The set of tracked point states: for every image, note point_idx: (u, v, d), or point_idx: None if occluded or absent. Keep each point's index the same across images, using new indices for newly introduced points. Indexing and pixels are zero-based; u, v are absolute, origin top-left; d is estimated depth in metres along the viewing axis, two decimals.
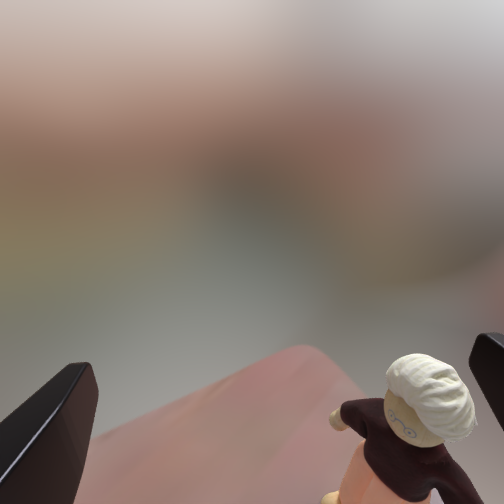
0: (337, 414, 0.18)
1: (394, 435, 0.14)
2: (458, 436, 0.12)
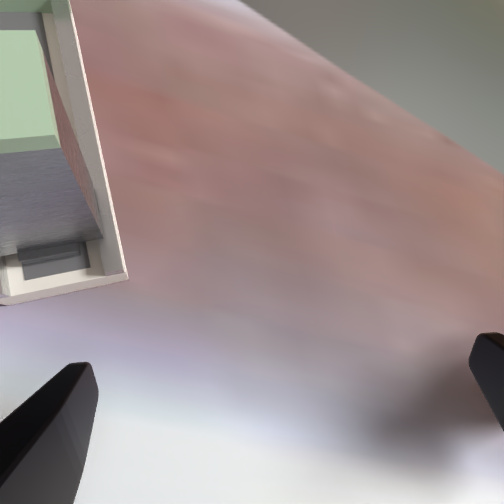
0: None
1: None
2: None
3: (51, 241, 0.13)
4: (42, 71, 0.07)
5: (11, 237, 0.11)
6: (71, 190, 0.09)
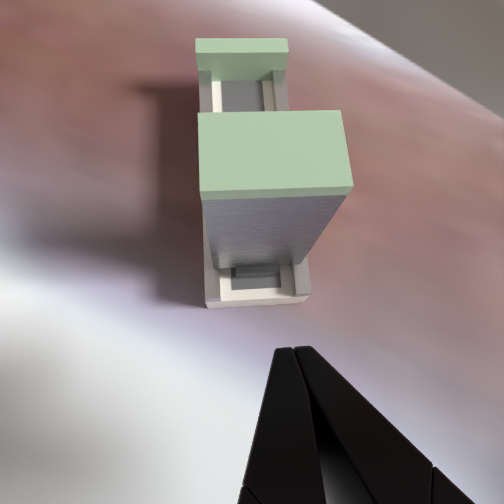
0: None
1: None
2: None
3: (265, 261, 0.16)
4: (344, 139, 0.10)
5: (246, 254, 0.14)
6: (321, 225, 0.12)
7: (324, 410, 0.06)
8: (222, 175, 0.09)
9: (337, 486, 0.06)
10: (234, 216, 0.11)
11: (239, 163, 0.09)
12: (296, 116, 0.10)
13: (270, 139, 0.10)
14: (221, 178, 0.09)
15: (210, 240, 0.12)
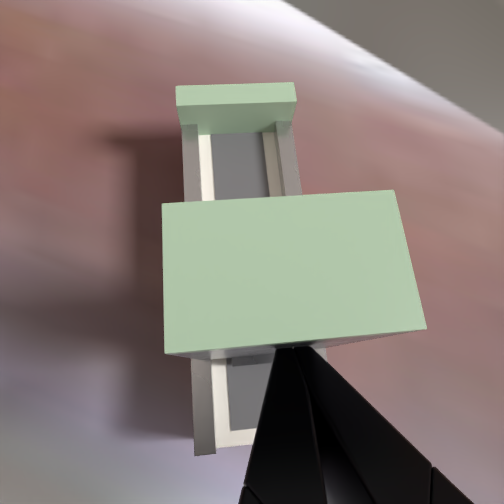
0: None
1: None
2: None
3: (270, 353, 0.12)
4: (404, 241, 0.06)
5: None
6: (355, 341, 0.08)
7: (323, 410, 0.06)
8: (204, 320, 0.05)
9: (336, 486, 0.06)
10: (226, 351, 0.07)
11: (232, 295, 0.05)
12: (324, 202, 0.06)
13: (282, 247, 0.06)
14: (202, 326, 0.05)
15: (194, 357, 0.09)
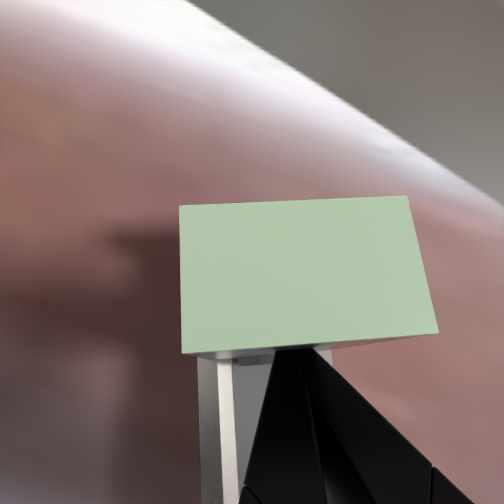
0: None
1: None
2: None
3: None
4: (417, 247, 0.06)
5: (253, 355, 0.11)
6: (364, 343, 0.08)
7: (323, 410, 0.06)
8: (220, 321, 0.05)
9: (336, 486, 0.06)
10: (238, 352, 0.07)
11: (248, 297, 0.06)
12: (338, 207, 0.06)
13: (297, 251, 0.06)
14: (218, 326, 0.05)
15: None
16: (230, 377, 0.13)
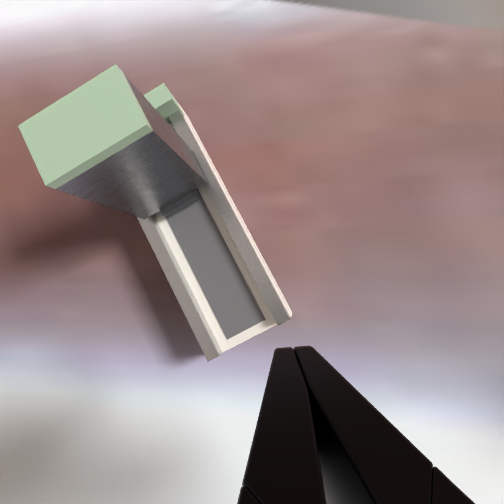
0: None
1: None
2: None
3: (175, 195, 0.18)
4: (127, 88, 0.12)
5: (151, 199, 0.17)
6: (171, 155, 0.14)
7: (324, 410, 0.06)
8: (54, 165, 0.12)
9: (337, 486, 0.06)
10: (96, 185, 0.13)
11: (62, 150, 0.12)
12: (85, 88, 0.12)
13: (74, 119, 0.12)
14: (55, 168, 0.12)
15: (107, 205, 0.15)
16: (166, 223, 0.20)
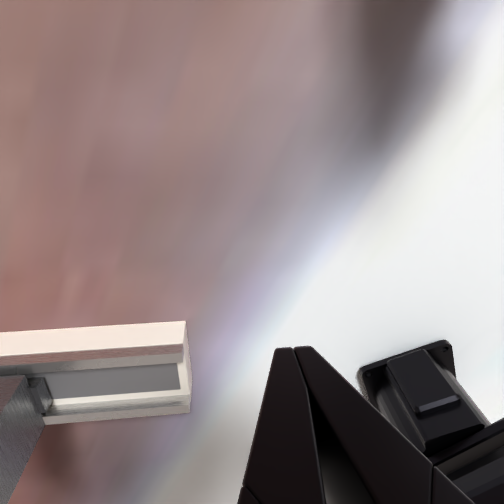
0: None
1: None
2: None
3: (27, 408, 0.19)
4: None
5: (22, 439, 0.18)
6: None
7: (324, 410, 0.06)
8: None
9: (337, 486, 0.06)
10: None
11: None
12: None
13: None
14: None
15: (12, 491, 0.17)
16: (57, 399, 0.21)
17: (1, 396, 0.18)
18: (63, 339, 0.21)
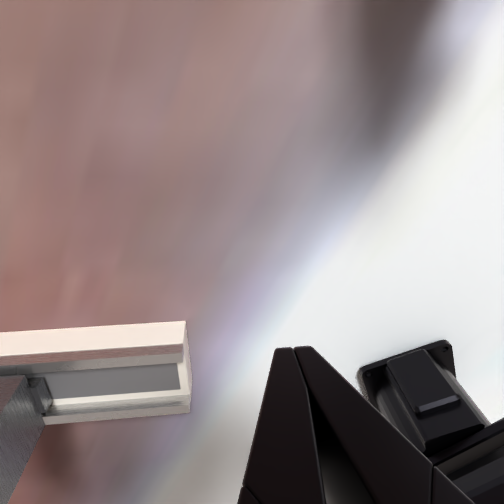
0: None
1: None
2: None
3: (27, 408, 0.19)
4: None
5: (22, 439, 0.18)
6: None
7: (324, 410, 0.06)
8: None
9: (337, 486, 0.06)
10: None
11: None
12: None
13: None
14: None
15: (12, 491, 0.17)
16: (57, 399, 0.21)
17: (1, 396, 0.18)
18: (63, 339, 0.21)
